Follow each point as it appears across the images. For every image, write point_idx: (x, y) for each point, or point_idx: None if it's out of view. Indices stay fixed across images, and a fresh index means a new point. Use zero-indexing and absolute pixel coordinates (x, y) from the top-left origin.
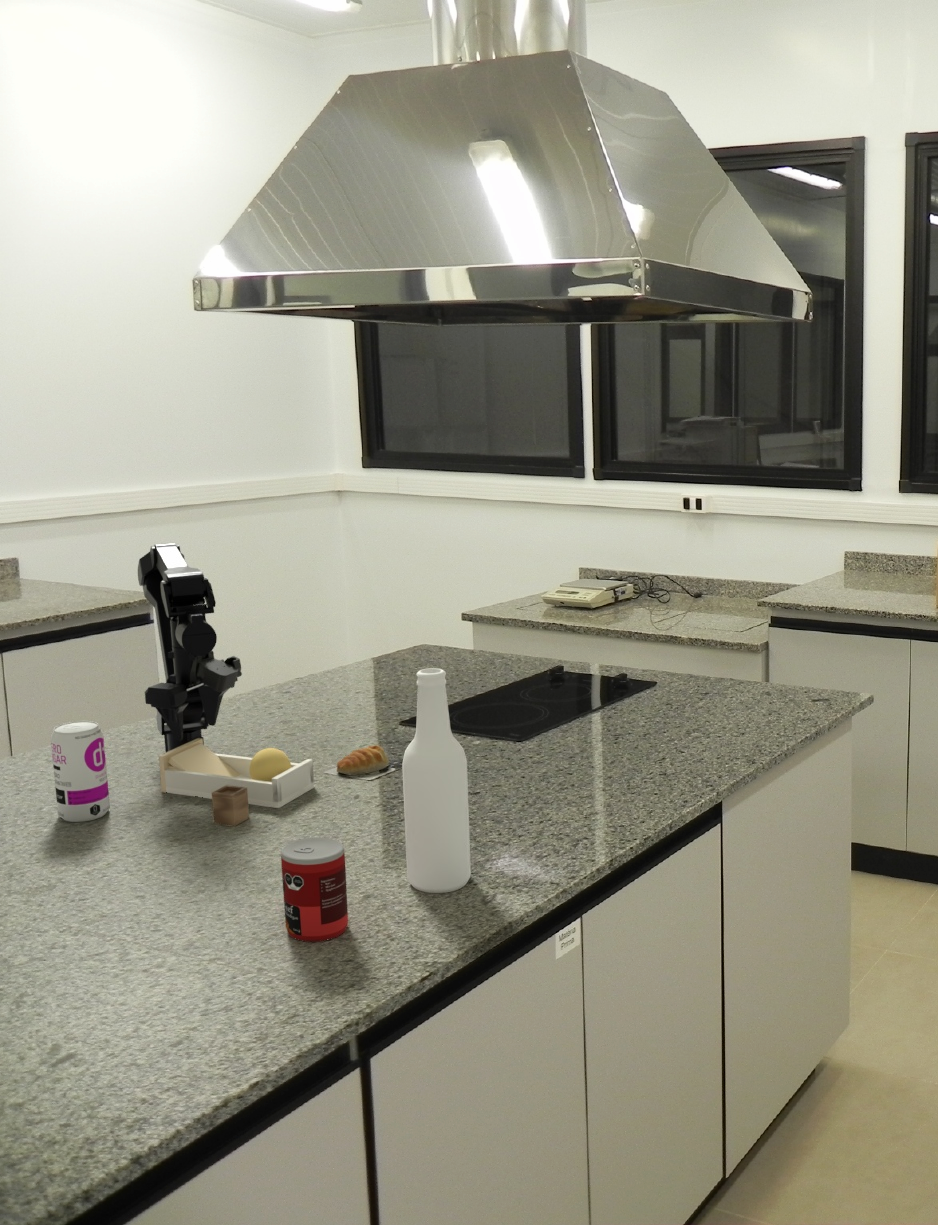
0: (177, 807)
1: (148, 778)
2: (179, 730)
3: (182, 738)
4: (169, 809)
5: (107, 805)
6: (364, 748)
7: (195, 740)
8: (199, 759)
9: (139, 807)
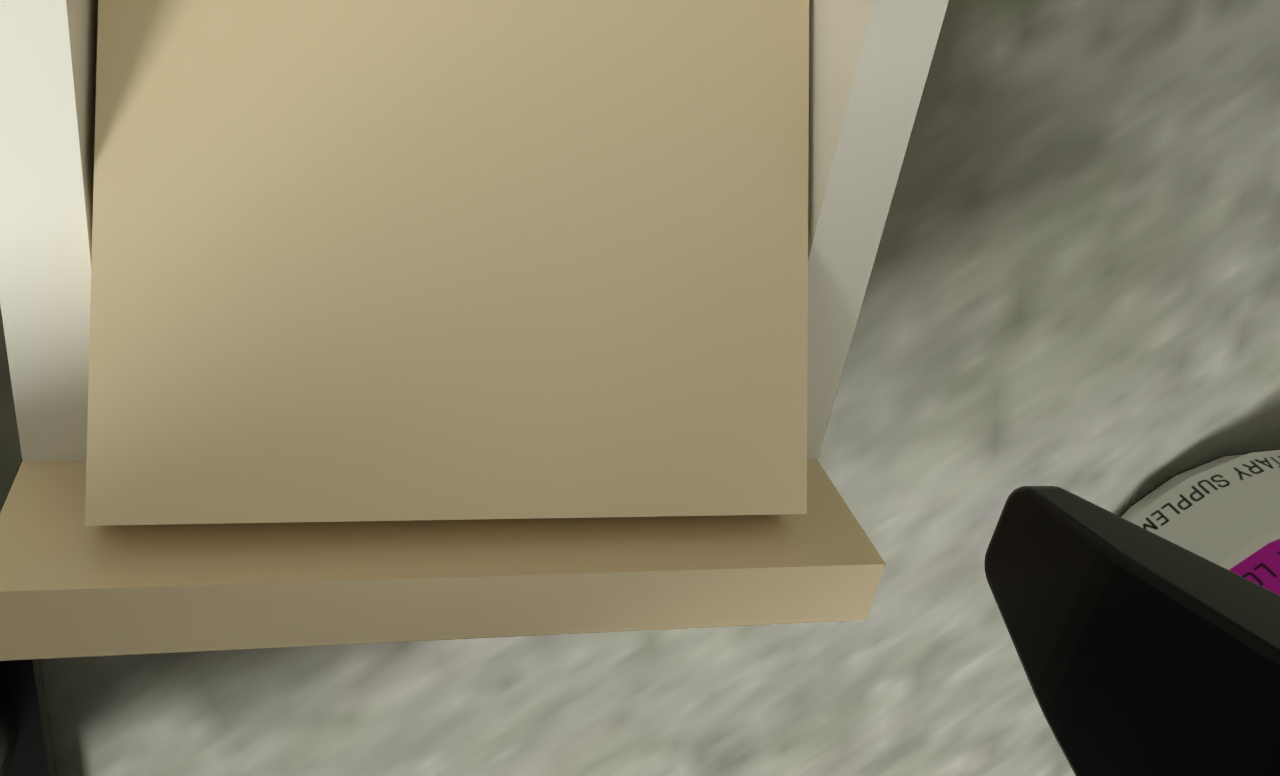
0: (1107, 7)
1: (423, 675)
2: (1251, 587)
3: (1036, 489)
4: (1153, 54)
5: (1271, 478)
6: None
7: (114, 623)
8: (447, 282)
9: (1087, 330)
